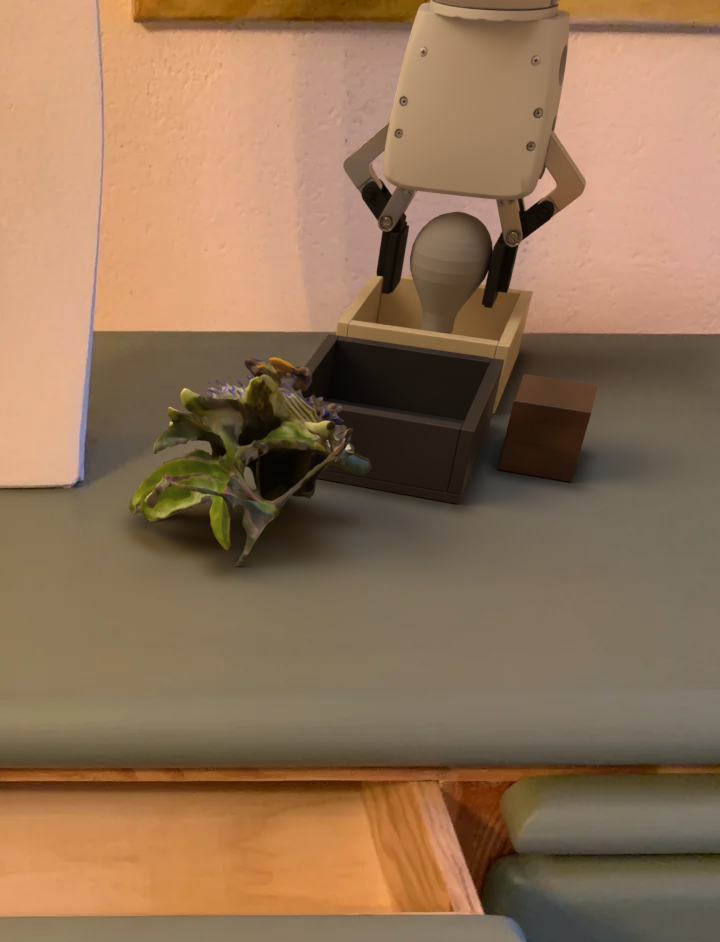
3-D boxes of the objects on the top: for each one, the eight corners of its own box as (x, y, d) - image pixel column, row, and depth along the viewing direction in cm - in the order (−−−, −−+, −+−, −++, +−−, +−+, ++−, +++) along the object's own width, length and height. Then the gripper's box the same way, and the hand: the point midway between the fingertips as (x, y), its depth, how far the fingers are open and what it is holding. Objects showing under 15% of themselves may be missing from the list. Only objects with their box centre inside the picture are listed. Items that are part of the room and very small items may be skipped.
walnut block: (578, 452, 74) (598, 384, 71) (571, 482, 71) (591, 412, 68) (507, 441, 75) (524, 373, 72) (497, 469, 72) (513, 400, 69)
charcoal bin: (489, 428, 77) (504, 359, 74) (458, 504, 69) (474, 431, 66) (320, 400, 80) (328, 333, 77) (272, 470, 72) (279, 399, 69)
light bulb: (385, 369, 83) (412, 218, 76) (399, 342, 86) (426, 197, 80) (461, 381, 81) (495, 229, 75) (472, 354, 85) (506, 207, 78)
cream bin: (518, 354, 87) (533, 291, 83) (494, 414, 79) (510, 346, 75) (366, 332, 90) (375, 270, 87) (328, 387, 82) (337, 321, 79)
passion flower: (258, 581, 73) (392, 429, 67) (250, 650, 63) (405, 481, 57) (116, 468, 70) (243, 300, 64) (86, 523, 61) (231, 333, 55)
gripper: (653, -17, 69) (572, 294, 81) (368, -33, 74) (332, 263, 86) (645, 0, 64) (560, 330, 76) (339, -18, 68) (305, 295, 80)
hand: (440, 292), depth 80 cm, fingers open, 6 cm apart
